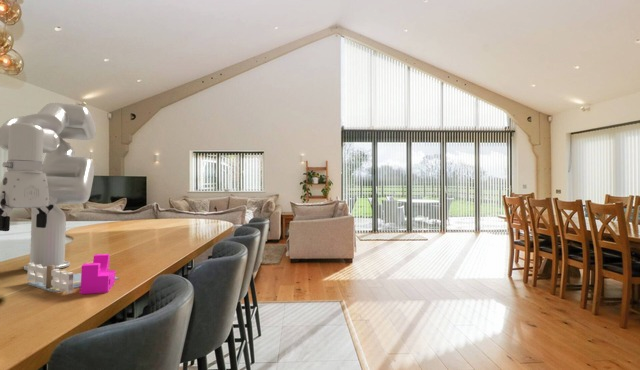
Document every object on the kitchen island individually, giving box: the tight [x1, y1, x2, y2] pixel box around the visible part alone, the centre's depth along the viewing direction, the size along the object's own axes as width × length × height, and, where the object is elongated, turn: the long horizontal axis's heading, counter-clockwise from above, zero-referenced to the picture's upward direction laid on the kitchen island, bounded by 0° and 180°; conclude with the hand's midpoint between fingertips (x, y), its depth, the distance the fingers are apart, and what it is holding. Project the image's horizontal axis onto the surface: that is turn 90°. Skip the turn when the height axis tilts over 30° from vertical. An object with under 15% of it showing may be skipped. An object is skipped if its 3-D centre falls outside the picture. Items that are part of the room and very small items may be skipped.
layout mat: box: [25, 272, 120, 294], centre depth 105 cm, size 16×18×1 cm
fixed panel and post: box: [46, 265, 74, 294], centre depth 95 cm, size 11×2×6 cm, turn 61°
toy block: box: [79, 253, 116, 295], centre depth 100 cm, size 15×6×8 cm, turn 21°
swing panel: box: [26, 262, 47, 286], centre depth 100 cm, size 10×1×5 cm, turn 61°
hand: (23, 229), depth 99 cm, fingers open, 8 cm apart
